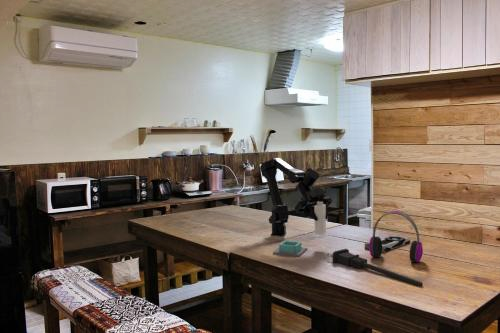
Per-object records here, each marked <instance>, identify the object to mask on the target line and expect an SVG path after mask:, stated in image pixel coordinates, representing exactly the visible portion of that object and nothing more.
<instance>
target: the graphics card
mask: <svg viewBox="0 0 500 333" xmlns="http://www.w3.org/2000/svg"><path fill="white" fill-rule="evenodd" d="M380 239H381V241H382V253H383V254H386V252H388V251H389V252H390V251H392V250H394V249H398V248H400V247H402V246H403V247H404V246H405V245H408V244H410V243H411V240H410V238H409V237H405V236H401V235H395V234H394V235H389V236H387V237H384V238H380ZM369 244H370V241H369V242H365V243H364V250H370V249H369Z"/></svg>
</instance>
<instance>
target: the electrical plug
mask: <svg viewBox="0 0 500 333" xmlns="http://www.w3.org/2000/svg"><path fill="white" fill-rule="evenodd" d="M326 256H327V257H330V258H332V260H331V261H332V264H341V265H345V267H347V268H349V267H352V268H354V269H357V270H360V269H364V268H366V269H368V270H371V271H374V272H376V273H379V274H381V275H384V276H387V277H389V278H392V279H396V280H399V281H402V282H405V283H406V282H407V283H408V284H409V283H410V285H412V284H413V286H415V285H416V287H418V286H419V288H420V286H421V287H423V285H424V284H423V282H422V281H419V280H416V279H414V278H411V277H408V276H405V275H403V274H402V275H401V274H399V273H396V272H393V271H390V270H387V269H384V268H382V267H379V266H376V265H373V264H371V263H368V259H366V258H364V257H361V256H360V254H358V253H357V254H354V253H351V252H350V251H349V249H348V248H343V249H338V250H334V251H333V253H330V252H327V253H326ZM407 283H406V284H407Z"/></svg>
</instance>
